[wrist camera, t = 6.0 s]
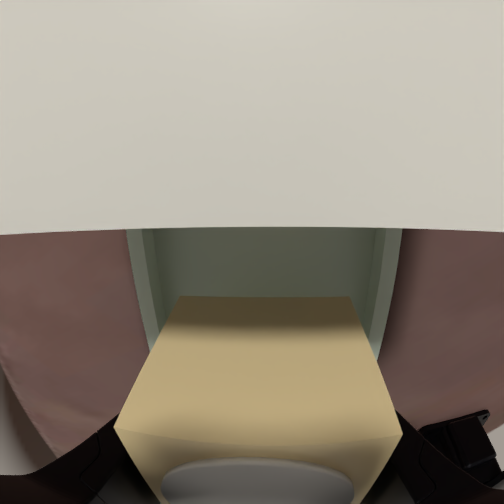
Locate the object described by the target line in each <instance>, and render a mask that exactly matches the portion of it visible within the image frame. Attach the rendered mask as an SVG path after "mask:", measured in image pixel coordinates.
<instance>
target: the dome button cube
mask: <svg viewBox="0 0 504 504" xmlns="http://www.w3.org/2000/svg"><path fill="white" fill-rule="evenodd" d="M114 429H115V431H116V432H117V434H118V436H119V438H120V440H121V441H122V443H123V445H124V447H125V448H126V450H127V452H128V454H129V455H130V457H131V459H132V460H133V462H134V464H135V465H136V467H137V468H138V470H139V472H140V473H141V475H142V476H143V478H144V479H145V481H146V482H147V484H148V485H149V487H150V488H151V490H152V491H153V493H154V494H155V495H156V497H157V498H158V500H159V501H160V502H161V504H360V502H361V501H362V500H363V498H364V497H365V495H366V494H367V493H368V491H369V490H370V488H371V487H372V485H373V484H374V482H375V481H376V479H377V477H378V476H379V474H380V473H381V471H382V470H383V468H384V466H385V465H386V463H387V461H388V460H389V458H390V456H391V455H392V453H393V451H394V449H395V448H396V446H397V444H398V442H399V440H400V439H401V437H402V435H403V433H402V430H401V427H400V424H399V421H398V418H397V415H396V413H395V410H394V407H393V404H392V401H391V399H390V396H389V393H388V390H387V388H386V385H385V382H384V380H383V377H382V374H381V372H380V369H379V367H378V364H377V362H376V359H375V356H374V354H373V351H372V349H371V346H370V344H369V342H368V339H367V337H366V334H365V332H364V329H363V327H362V325H361V322H360V320H359V318H358V315H357V313H356V311H355V308H354V306H353V304H352V301H351V299H350V297H349V296H346V297H209V296H179V298H178V300H177V302H176V304H175V306H174V308H173V310H172V311H171V313H170V315H169V317H168V319H167V321H166V323H165V325H164V327H163V329H162V330H161V332H160V334H159V336H158V338H157V340H156V342H155V344H154V346H153V348H152V350H151V352H150V354H149V356H148V358H147V360H146V362H145V364H144V366H143V368H142V370H141V372H140V374H139V376H138V378H137V380H136V382H135V384H134V386H133V388H132V390H131V392H130V394H129V396H128V398H127V400H126V402H125V404H124V406H123V408H122V410H121V412H120V414H119V417H118V419H117V421H116V423H115V425H114Z"/></svg>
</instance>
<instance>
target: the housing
mask: <svg viewBox="0 0 504 504" xmlns="http://www.w3.org/2000/svg"><path fill="white" fill-rule="evenodd" d="M189 227H369V228H413V229H445V230H471V231H493V232H504V0H0V235H3V234H20V233H39V232H60V231H84V230H111V229H144V228H189Z"/></svg>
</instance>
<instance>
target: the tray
mask: <svg viewBox="0 0 504 504" xmlns="http://www.w3.org/2000/svg"><path fill="white" fill-rule="evenodd" d="M126 234H127V241H128V247H129V254H130V260H131V265H132V271H133V276H134V282H135V287H136V292H137V297H138V302H139V306H140V311H141V316H142V320H143V324H144V329H145V333H146V337H147V341H148V345H149V349H150V352H151V350H152V348H153V346H154V344H155V342H156V340H157V338H158V336H159V334H160V332H161V330H162V329H163V327H164V325H165V323H166V321H167V319H168V317H169V315H170V313H171V311H172V310H173V308H174V306H175V304H176V302H177V300H178V298H179V296H209V297H346V296H349V297H350V299H351V301H352V304H353V306H354V308H355V311H356V313H357V315H358V318H359V320H360V322H361V325H362V327H363V329H364V332H365V334H366V337H367V339H368V342H369V344H370V346H371V349H372V351H373V354H374V356H375V359H376V362H377V359H378V355H379V351H380V347H381V343H382V339H383V335H384V331H385V326H386V322H387V317H388V313H389V308H390V303H391V298H392V293H393V288H394V282H395V276H396V270H397V264H398V258H399V251H400V244H401V236H402V228H369V227H189V228H144V229H126ZM160 504H161V502H160Z"/></svg>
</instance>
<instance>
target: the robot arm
mask: <svg viewBox="0 0 504 504" xmlns="http://www.w3.org/2000/svg"><path fill="white" fill-rule="evenodd" d="M394 410H395V409H394ZM395 413H396V415H397V418H398V421H399V424H400V427H401V430H402V433H403V435H402V437H401V439H400V440H399V442H398V444H397V446H396V448H395V449H394V451H393V453H392V455H391V456H390V458H389V460H388V461H387V463H386V465H385V466H384V468H383V470H382V471H381V473H380V474H379V476H378V477H377V479H376V481H375V482H374V484H373V485H372V487H371V488H370V490H369V491H368V493H367V494H366V495H365V497H364V498H363V500H362V501H361V502H360V504H504V471H501V469H500V467H499V464H498V462H497V460H496V458H495V457H496V452H495V450H494V448H493V446H492V444H491V442H490V440H489V438H488V436H487V434H486V432H485V430H484V428H483V425H484V423H485V422H486V420H487V419H488V417H489V416H490V412H489V411H488V410H484V411H481V412H477V413H474V414H471V415H467V416H464V417H461V418H457V419H453V420H450V421H446V422H442V423H438V424H433V425H429V426H426V427H424V428H423V429H421V431H420V432H418V431H417V430H416V429H415V428H414V427H413V426H412V425H411V424H410V423H409V422H407V421H406V420H405V419H404V418H403V417H402V416H401V415H400V414H399V413H398V412H397V411H396V410H395ZM119 414H120V413H119ZM119 414H118V415H117V416H115V417H114V418H113V419H112V420H110V421H109V422H108V423H107V424H105V425H104V426H103V427H102V428H100V429H99V430H98V431H97V433H96V432H95V433H94V434H93V435H92V436H90V437H89V438H88V439H86V440H85V441H84V442H82V443H81V444H80V445H78V446H77V447H75V448H74V449H72V450H71V451H69V452H68V453H66V454H65V455H63V456H61V457H60V458H58V459H56V460H55V461H53V462H51V463H49V464H48V465H46V466H44V467H43V468H41V469H39V470H37V471H35V472H33V473H30V474H26V475H0V504H160V501H159V500H158V498H157V497H156V495H155V494H154V493H153V491H152V490H151V488H150V487H149V485H148V484H147V482H146V481H145V479H144V478H143V476H142V475H141V473H140V472H139V470H138V468H137V467H136V465H135V464H134V462H133V460H132V459H131V457H130V455H129V454H128V452H127V450H126V448H125V447H124V445H123V443H122V441H121V440H120V438H119V436H118V434H117V432H116V431H115V429H114V425H115V423H116V421H117V419H118V417H119Z"/></svg>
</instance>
